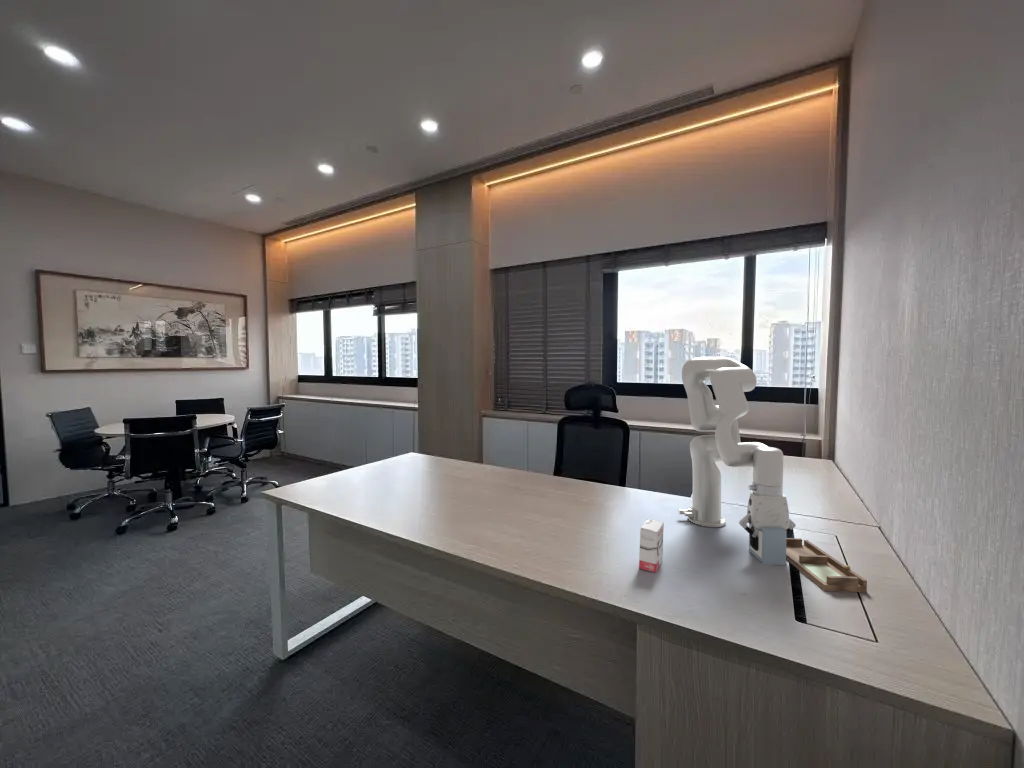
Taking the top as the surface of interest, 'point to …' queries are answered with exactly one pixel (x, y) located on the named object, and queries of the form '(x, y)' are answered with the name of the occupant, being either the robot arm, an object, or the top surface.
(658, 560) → the ink box
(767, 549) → the blue-grey rectangular block
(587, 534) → the top surface
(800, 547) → the brown wooden shallow tray
